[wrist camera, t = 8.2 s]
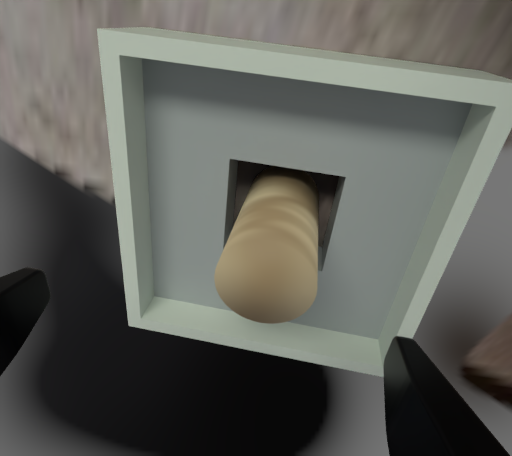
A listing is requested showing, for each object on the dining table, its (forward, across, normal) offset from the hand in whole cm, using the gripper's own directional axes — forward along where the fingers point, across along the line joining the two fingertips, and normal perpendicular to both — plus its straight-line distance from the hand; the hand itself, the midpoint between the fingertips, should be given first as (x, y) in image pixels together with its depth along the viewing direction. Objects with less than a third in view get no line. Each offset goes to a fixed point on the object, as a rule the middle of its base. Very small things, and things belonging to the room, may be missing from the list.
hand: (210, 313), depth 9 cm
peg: (+12, -1, +2) cm, 13 cm away
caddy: (+12, -1, +2) cm, 12 cm away
